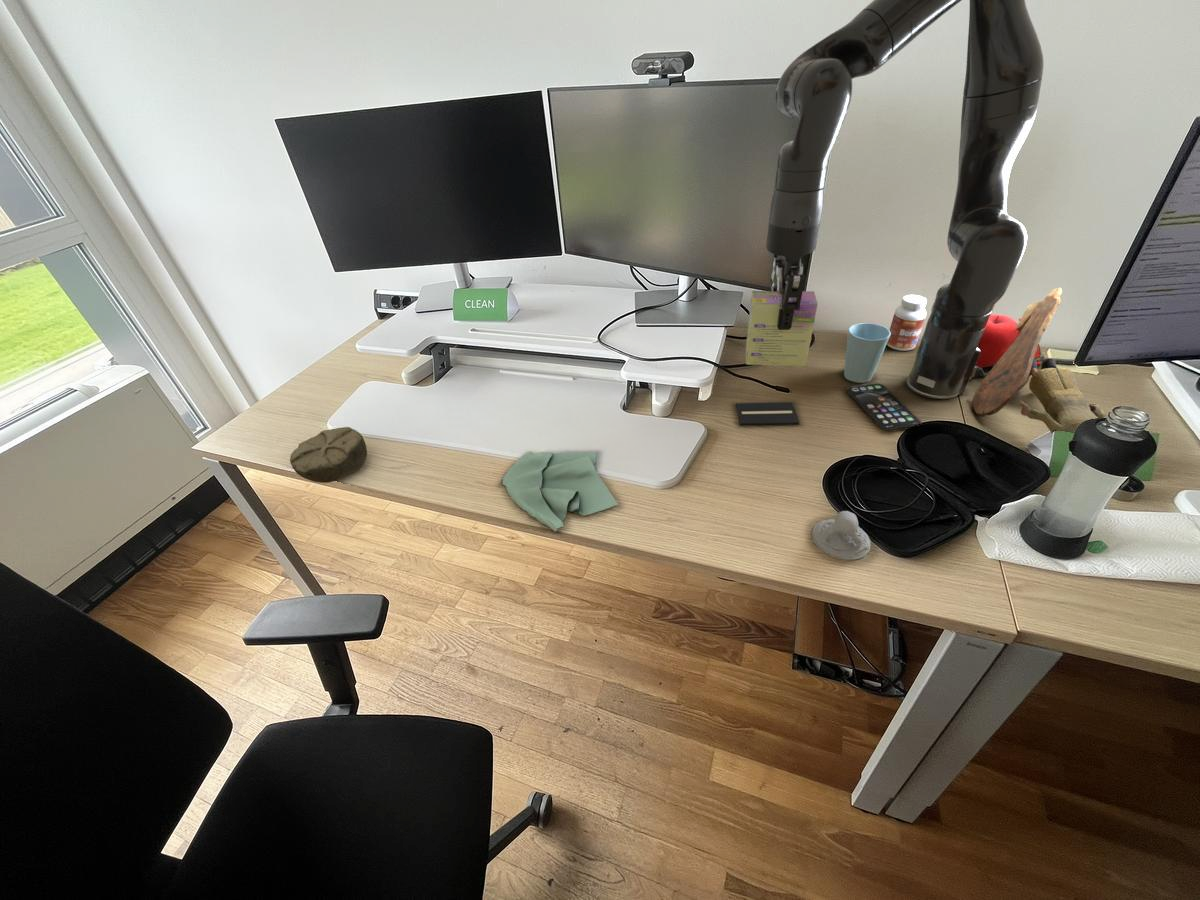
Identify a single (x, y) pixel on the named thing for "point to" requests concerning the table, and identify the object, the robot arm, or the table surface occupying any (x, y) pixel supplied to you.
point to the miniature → (842, 537)
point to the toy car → (1037, 353)
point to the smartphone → (883, 407)
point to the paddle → (1016, 358)
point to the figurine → (1059, 399)
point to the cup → (864, 350)
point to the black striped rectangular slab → (767, 413)
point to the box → (779, 331)
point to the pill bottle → (907, 323)
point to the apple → (996, 339)
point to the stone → (329, 455)
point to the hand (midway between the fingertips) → (780, 320)
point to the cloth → (557, 486)
